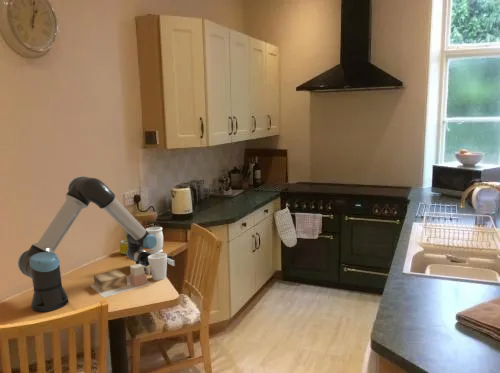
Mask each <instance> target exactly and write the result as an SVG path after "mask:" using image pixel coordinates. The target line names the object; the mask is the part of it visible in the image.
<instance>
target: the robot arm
mask: <svg viewBox="0 0 500 373" xmlns="http://www.w3.org/2000/svg"><path fill="white" fill-rule="evenodd" d="M67 190H68V191H67V192H66V194H65V199H66V200H65V201H64V203H63V205H62V206H61V207H60V209H59V211H57V213H56V214H55V216H54V218H53V219H52V221H51V222H50V223H49V225H48V227H47V228H46V229H45V231H44V232H43V234H42V236H41V237H40V238H39V240H38V242H35V243H33V244H31V245H30V247H29V249H27V250H25V251H24V252H22V253H21V254H20V256H19V257H18V261H17V265H18V269H19V271H20V272H21V273H22V274H23V275H24V276H26V277H29V278H30V279H32V288H33V295H32V299H31V303H30V305H31V310H32V311H33V312H37V313H43V312H46V313H47V312H52V311H55V310H58V309H60V308H63V307H64V306H66V305H67V304H68V303H69V297H68V294H67V292H66V291H65V289H64V287H63V282H62V281H63V280H62V274H61V273H62V272H61V266H60V264H61V263H60V260H59V256H58V254H57V253H56V249H58V247H59V245H60V243H61V242H62V241H63V239H64V237H65V236H66V234H68V231H69V230H70V228H71V226H72V225H73V224H74V222H75V221H76V220H77V217H78V216H79V215H80V213H81V212H82V210H83V209H86V208H87V209H88V207H89V205H90V203H92V204H94V205H96V206H97V207H98V208H100V209H103V210H104V211H106V212H107V213H108V215H110V216H111V217H112V218H113V219H114V221H115V222H117V224H119V225H120V226H121V227H122V228H123V230H125V237H126V236H127V242H128V249H127V252H126V254H127V255H126V256H127V257H128V259H130V260H131V261H133V262H135V265H136V264H141V265H143V266H144V273H145V274H148V275H151V270H150V265H149V262H148V256H149V255H152V254H151V253H149V251H146V250H144V249H143V248H145V249H148V250H149V249H152V248H154V247H155V246H156V244H157V238H156V237H155V236H154V235H152V234H150V233H149V232H148V231H147V230H146V229H147V228H144V226H143V225H142V224H141V222H139V221H138V220H137V219H136V218H135V217H134V216H133V214H132V213H130V212H129V211H128V209H127V208H126V207H125V206H123V205H122V203H121V202H120V201H119V200H118V199H117V198H116V197H117V196H116V194H115V193H114V192H113V191H112V190H111V188H109V187H108V186H107V185H106V183H104V182H103V181H102V180H101V179H99V178H96V177H88V176H78V177H74V178H73V179H72V180H71V181H70V182H69V184H68V187H67ZM167 265H170V266H172V267H175V266H176V264H175V260H174V259H173V256H172V255H167Z"/></svg>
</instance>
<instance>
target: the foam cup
mask: <svg viewBox="0 0 500 373" xmlns="http://www.w3.org/2000/svg"><path fill="white" fill-rule="evenodd" d="M167 256H168V255H167V253H164V252H161V253H156V254H152V255H149V256H148V262H149V268H150V275H151V278H152V280H153V281H163V280H164V279H165V280H166V278H167V271H168V270H167V269H168V263H167Z"/></svg>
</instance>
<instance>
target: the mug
mask: <svg viewBox="0 0 500 373" xmlns="http://www.w3.org/2000/svg"><path fill="white" fill-rule="evenodd" d="M127 249H128V242H127V236H126V235H125V239H123V240H120V241H119V252H120V254H121V255H123V256H124V255H125V256H127V254H126V252H127Z"/></svg>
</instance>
